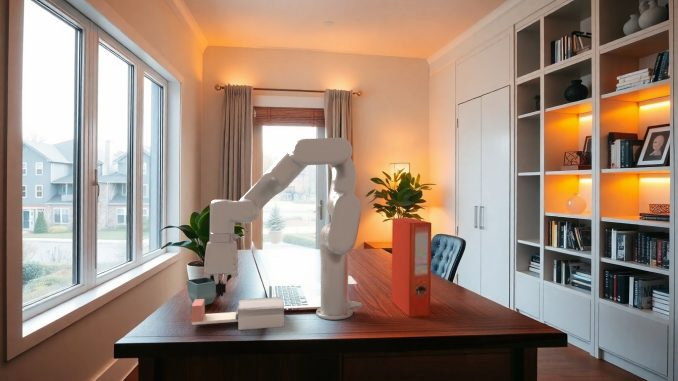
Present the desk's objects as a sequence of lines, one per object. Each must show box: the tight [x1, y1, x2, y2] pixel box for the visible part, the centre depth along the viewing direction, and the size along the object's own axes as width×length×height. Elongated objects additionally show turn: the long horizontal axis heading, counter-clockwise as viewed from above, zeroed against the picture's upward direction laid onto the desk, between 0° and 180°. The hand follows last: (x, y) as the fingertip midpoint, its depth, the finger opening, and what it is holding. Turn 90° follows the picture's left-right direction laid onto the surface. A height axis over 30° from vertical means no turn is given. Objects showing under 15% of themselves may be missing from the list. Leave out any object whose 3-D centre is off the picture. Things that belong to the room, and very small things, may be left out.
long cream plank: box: [191, 299, 238, 326], centre depth 127 cm, size 26×7×6 cm, turn 102°
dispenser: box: [235, 296, 285, 331], centre depth 129 cm, size 15×12×6 cm
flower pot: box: [186, 276, 218, 306], centre depth 148 cm, size 9×9×9 cm
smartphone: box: [348, 275, 358, 286], centre depth 184 cm, size 7×1×15 cm
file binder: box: [391, 217, 432, 318], centre depth 142 cm, size 8×17×32 cm, turn 12°
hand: (220, 295), depth 126 cm, fingers closed
